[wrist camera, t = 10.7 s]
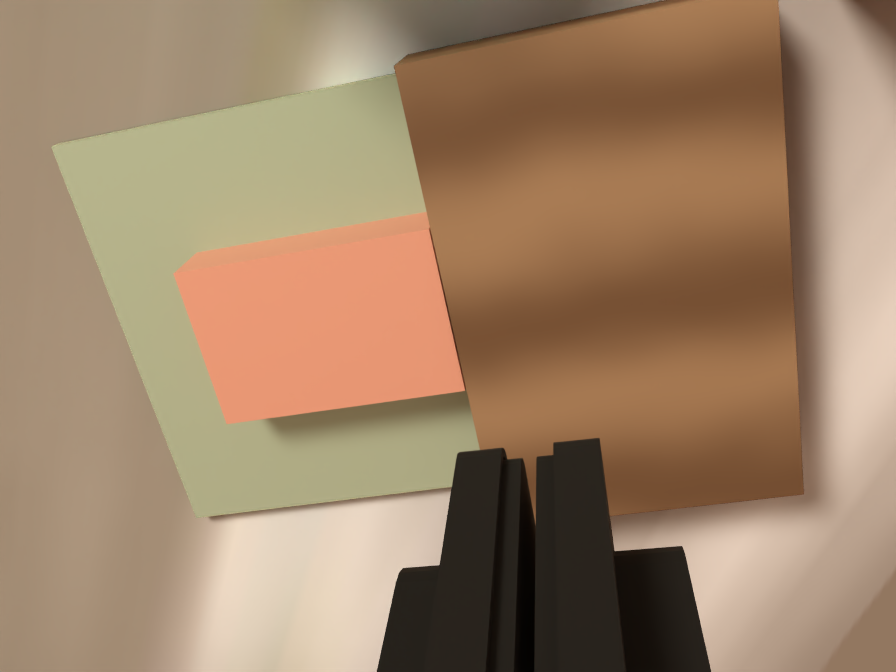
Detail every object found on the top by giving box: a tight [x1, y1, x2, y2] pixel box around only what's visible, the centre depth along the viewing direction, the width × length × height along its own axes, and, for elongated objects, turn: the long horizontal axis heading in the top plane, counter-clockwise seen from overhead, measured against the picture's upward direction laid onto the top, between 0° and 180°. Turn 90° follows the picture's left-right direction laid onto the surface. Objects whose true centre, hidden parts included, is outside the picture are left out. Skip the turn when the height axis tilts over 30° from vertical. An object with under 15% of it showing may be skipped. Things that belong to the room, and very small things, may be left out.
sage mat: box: [52, 73, 480, 518], centre depth 32 cm, size 16×13×1 cm
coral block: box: [173, 212, 466, 424], centre depth 31 cm, size 6×9×2 cm, turn 102°
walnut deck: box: [394, 0, 804, 524], centre depth 29 cm, size 17×11×3 cm, turn 12°
